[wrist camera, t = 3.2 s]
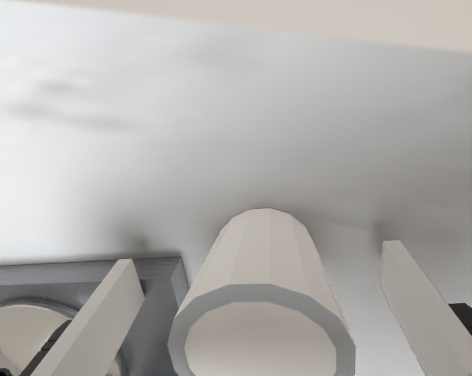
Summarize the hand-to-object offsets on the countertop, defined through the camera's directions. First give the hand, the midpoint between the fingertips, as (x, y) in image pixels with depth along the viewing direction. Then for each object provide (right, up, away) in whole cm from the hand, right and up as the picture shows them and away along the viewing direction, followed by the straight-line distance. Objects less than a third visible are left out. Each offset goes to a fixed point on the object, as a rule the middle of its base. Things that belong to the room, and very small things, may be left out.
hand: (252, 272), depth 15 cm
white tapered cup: (+1, +1, +2) cm, 2 cm away
